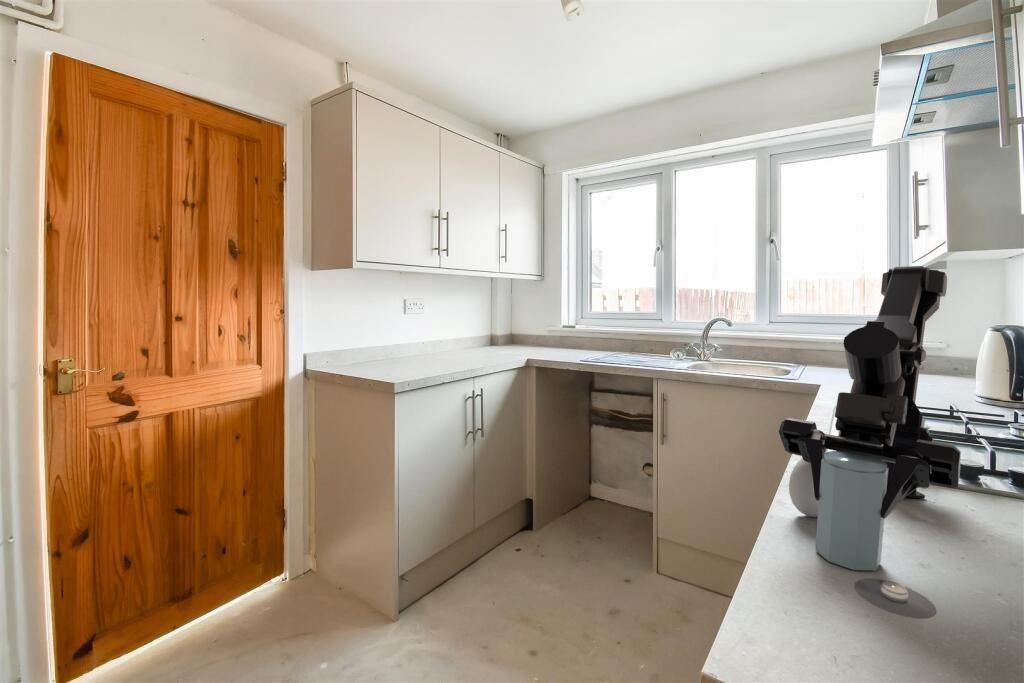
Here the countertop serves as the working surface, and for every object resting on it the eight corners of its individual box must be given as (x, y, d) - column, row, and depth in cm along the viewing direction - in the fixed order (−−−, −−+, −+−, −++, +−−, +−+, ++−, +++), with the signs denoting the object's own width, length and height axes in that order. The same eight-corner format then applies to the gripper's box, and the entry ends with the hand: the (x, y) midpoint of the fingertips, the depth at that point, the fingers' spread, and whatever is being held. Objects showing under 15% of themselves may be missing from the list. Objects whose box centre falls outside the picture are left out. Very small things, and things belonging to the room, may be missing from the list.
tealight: (874, 589, 54) (875, 579, 54) (897, 591, 54) (898, 580, 54) (889, 603, 52) (890, 592, 52) (913, 604, 52) (914, 593, 51)
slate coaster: (841, 579, 57) (841, 576, 57) (904, 583, 56) (904, 580, 56) (881, 618, 50) (881, 615, 50) (953, 623, 49) (954, 620, 49)
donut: (825, 506, 77) (830, 445, 76) (847, 515, 74) (852, 452, 73) (781, 516, 73) (785, 452, 72) (802, 526, 70) (807, 459, 69)
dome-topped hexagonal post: (806, 542, 64) (812, 450, 63) (855, 543, 64) (862, 451, 63) (838, 569, 58) (845, 468, 57) (892, 570, 58) (900, 468, 57)
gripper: (786, 361, 68) (754, 454, 62) (967, 378, 55) (950, 499, 48) (800, 407, 74) (771, 496, 68) (965, 432, 61) (950, 546, 54)
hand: (848, 507), depth 59 cm, fingers closed on dome-topped hexagonal post, 6 cm apart
